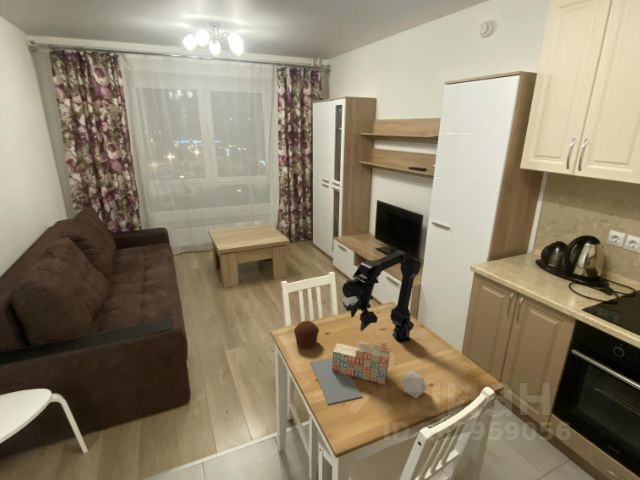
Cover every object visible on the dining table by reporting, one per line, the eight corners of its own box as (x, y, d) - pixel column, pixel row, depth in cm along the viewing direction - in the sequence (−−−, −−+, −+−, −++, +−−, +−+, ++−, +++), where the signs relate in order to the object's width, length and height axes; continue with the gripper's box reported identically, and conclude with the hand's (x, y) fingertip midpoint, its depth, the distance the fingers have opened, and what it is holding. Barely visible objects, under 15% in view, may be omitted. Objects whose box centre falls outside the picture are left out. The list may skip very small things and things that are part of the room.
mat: (339, 357, 145) (339, 356, 145) (362, 397, 123) (362, 396, 123) (310, 362, 141) (310, 361, 141) (328, 404, 119) (328, 403, 119)
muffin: (294, 336, 160) (293, 317, 157) (317, 335, 161) (317, 316, 158) (294, 351, 149) (294, 331, 146) (319, 350, 150) (320, 330, 147)
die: (404, 403, 121) (423, 390, 117) (392, 379, 127) (410, 366, 122) (417, 400, 127) (435, 388, 122) (405, 378, 132) (423, 365, 127)
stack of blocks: (331, 371, 135) (332, 344, 132) (335, 362, 141) (337, 336, 138) (385, 385, 129) (388, 357, 125) (387, 374, 135) (390, 348, 131)
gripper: (338, 280, 143) (331, 311, 149) (357, 306, 127) (348, 339, 133) (361, 280, 147) (354, 310, 153) (382, 305, 131) (373, 337, 137)
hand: (356, 323), depth 144 cm, fingers open, 9 cm apart
